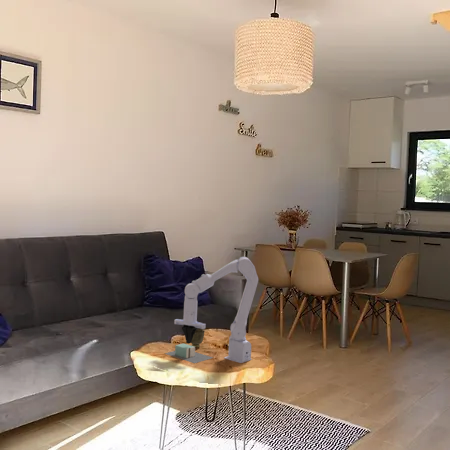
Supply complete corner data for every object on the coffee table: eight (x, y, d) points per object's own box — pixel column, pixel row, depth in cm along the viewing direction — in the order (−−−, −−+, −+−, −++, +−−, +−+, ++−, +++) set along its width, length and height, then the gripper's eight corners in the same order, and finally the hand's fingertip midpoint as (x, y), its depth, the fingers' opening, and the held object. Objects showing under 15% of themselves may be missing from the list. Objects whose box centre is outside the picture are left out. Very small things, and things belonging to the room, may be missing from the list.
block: (195, 346, 235) (183, 343, 239) (187, 348, 231) (175, 345, 235) (194, 355, 235) (183, 352, 239) (186, 358, 231) (174, 354, 235)
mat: (213, 358, 234) (213, 357, 234) (194, 364, 225) (194, 363, 225) (183, 349, 245) (183, 348, 245) (164, 354, 236) (164, 353, 236)
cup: (204, 345, 253) (205, 328, 253) (202, 349, 246) (203, 332, 246) (189, 344, 254) (189, 327, 254) (186, 348, 247) (187, 331, 246)
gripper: (209, 312, 233) (208, 343, 234) (181, 307, 240) (179, 338, 240) (201, 315, 227) (199, 347, 227) (172, 310, 233) (170, 341, 234)
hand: (188, 342), depth 234 cm, fingers closed
